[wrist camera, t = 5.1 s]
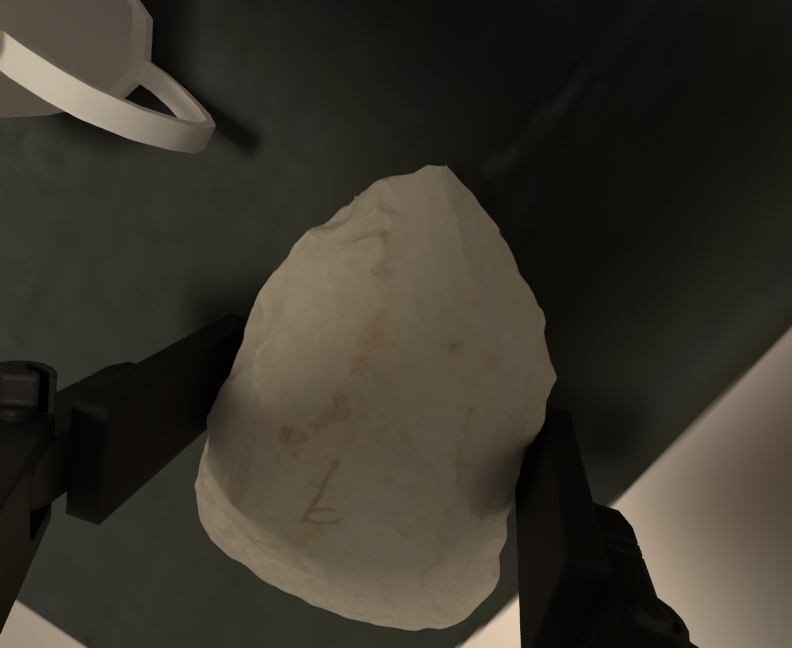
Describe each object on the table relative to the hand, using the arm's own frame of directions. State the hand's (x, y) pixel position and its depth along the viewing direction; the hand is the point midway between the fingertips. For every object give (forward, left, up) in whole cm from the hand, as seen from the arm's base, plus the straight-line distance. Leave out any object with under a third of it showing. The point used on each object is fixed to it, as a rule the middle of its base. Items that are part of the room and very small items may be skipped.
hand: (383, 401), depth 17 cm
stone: (-1, 0, 0) cm, 1 cm away
